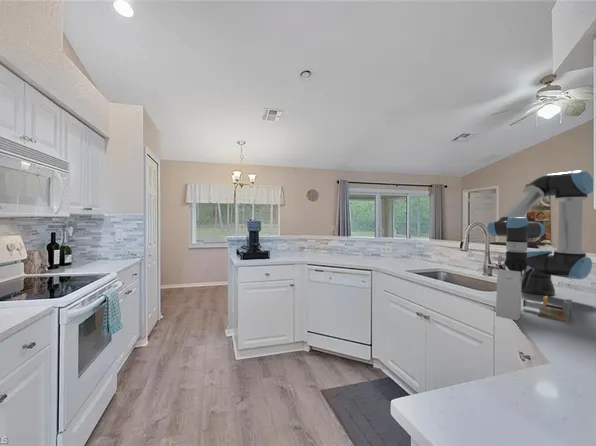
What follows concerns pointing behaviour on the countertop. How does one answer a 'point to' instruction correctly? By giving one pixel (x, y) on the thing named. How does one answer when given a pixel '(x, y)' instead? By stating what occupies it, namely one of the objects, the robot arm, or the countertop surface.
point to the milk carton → (508, 294)
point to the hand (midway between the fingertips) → (514, 302)
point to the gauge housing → (557, 311)
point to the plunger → (535, 303)
